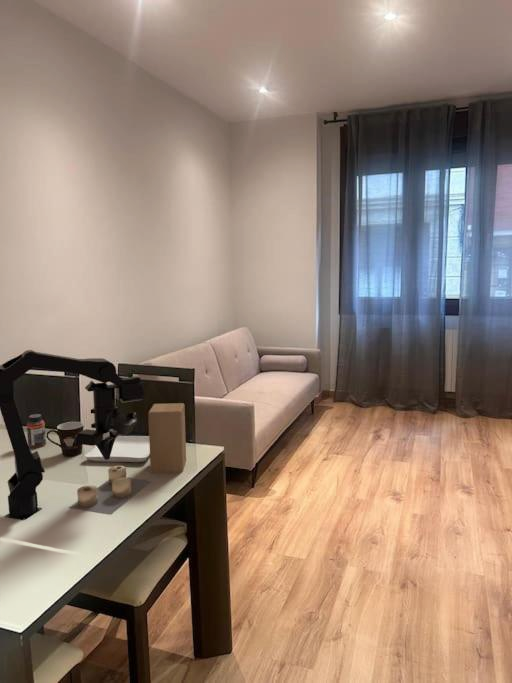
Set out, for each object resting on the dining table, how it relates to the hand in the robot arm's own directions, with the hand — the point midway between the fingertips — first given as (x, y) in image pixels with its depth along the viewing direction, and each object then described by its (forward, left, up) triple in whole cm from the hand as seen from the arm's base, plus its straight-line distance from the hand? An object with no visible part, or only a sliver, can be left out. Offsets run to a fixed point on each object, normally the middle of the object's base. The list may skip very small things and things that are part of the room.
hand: (107, 459), depth 136 cm
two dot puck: (+7, +1, -10) cm, 12 cm away
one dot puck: (-7, +1, -10) cm, 12 cm away
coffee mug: (+24, +32, -11) cm, 41 cm away
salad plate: (+29, +12, -11) cm, 33 cm away
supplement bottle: (+27, +48, -11) cm, 56 cm away
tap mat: (0, -2, -10) cm, 11 cm away
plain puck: (0, -5, -10) cm, 11 cm away
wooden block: (+22, -8, -11) cm, 25 cm away
